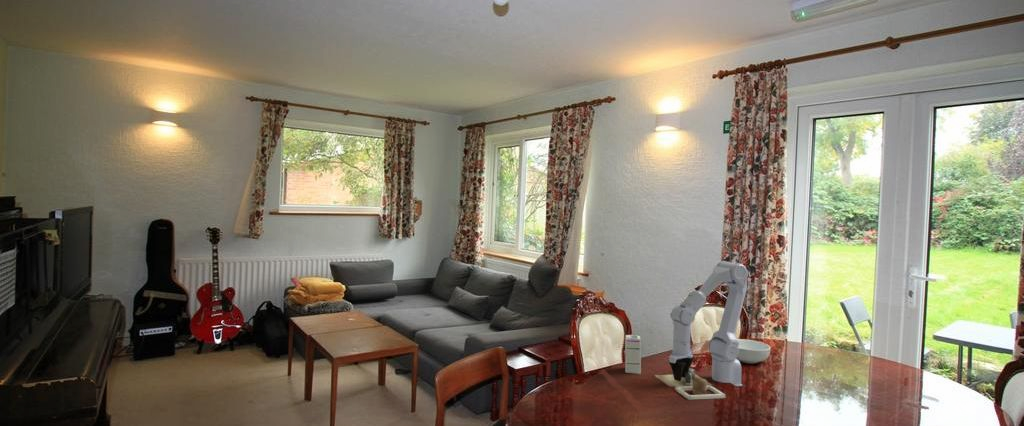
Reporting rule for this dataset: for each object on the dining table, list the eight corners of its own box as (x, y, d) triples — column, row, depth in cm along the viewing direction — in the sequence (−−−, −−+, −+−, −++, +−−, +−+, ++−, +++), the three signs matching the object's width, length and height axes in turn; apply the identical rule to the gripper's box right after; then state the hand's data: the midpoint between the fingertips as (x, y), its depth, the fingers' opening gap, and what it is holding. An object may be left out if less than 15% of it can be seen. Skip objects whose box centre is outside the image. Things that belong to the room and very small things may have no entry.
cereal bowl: (717, 357, 214) (717, 341, 214) (744, 353, 221) (744, 337, 221) (751, 369, 198) (751, 351, 198) (779, 364, 205) (779, 347, 205)
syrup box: (641, 377, 186) (641, 338, 186) (624, 376, 187) (625, 337, 187) (640, 372, 191) (640, 335, 191) (624, 371, 193) (625, 334, 193)
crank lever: (685, 374, 184) (686, 363, 184) (695, 375, 183) (695, 364, 183) (682, 385, 172) (683, 373, 172) (692, 386, 171) (692, 374, 171)
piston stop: (702, 393, 169) (702, 377, 169) (709, 398, 164) (709, 381, 164) (690, 394, 168) (690, 378, 168) (696, 399, 164) (696, 382, 164)
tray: (710, 392, 171) (710, 385, 171) (725, 402, 163) (725, 394, 163) (675, 394, 169) (675, 386, 169) (688, 404, 161) (688, 396, 161)
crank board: (694, 377, 187) (694, 372, 187) (712, 389, 175) (712, 383, 175) (654, 379, 184) (654, 374, 184) (669, 390, 172) (669, 385, 172)
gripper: (683, 346, 168) (682, 386, 168) (701, 339, 179) (700, 377, 179) (663, 342, 173) (662, 381, 173) (682, 335, 184) (681, 372, 184)
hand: (680, 378), depth 176 cm, fingers open, 4 cm apart
